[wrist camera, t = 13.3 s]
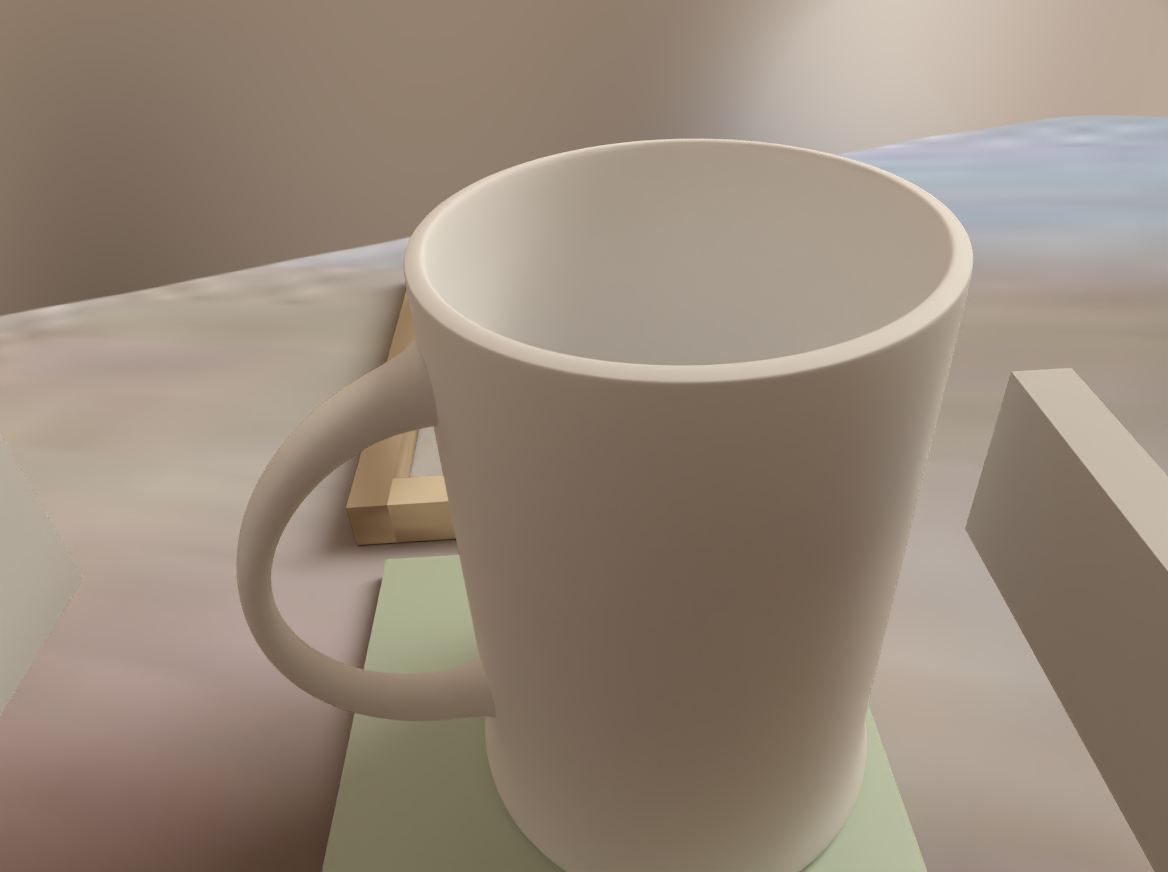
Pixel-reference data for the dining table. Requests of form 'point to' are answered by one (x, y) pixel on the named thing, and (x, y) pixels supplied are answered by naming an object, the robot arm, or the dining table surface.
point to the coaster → (462, 773)
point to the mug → (657, 485)
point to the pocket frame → (397, 481)
